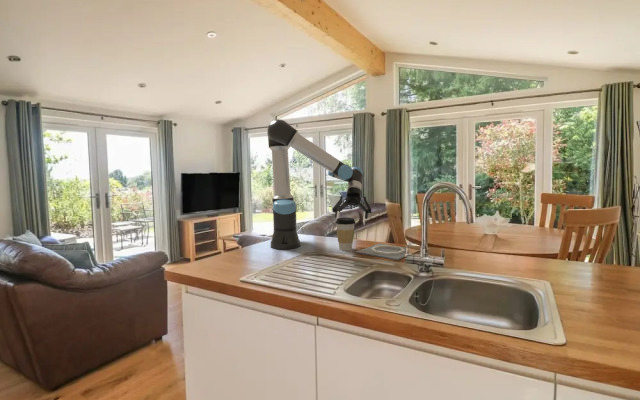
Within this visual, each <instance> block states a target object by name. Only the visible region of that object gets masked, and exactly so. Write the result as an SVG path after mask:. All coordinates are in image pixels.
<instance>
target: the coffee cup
mask: <svg viewBox="0 0 640 400" xmlns="http://www.w3.org/2000/svg"><path fill="white" fill-rule="evenodd" d="M335 224H336V225H335V226H336V236H337V241H338V247H339V249H338V250H339V251H343V252H344V251H352V250H353V243H354V238H355V237H354V235H355V224H356V221H355V218H354V217H339V218H338V219H337V221H336V220H335Z"/></svg>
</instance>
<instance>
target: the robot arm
mask: <svg viewBox="0 0 640 400" xmlns="http://www.w3.org/2000/svg"><path fill="white" fill-rule="evenodd" d="M266 133H267V140H268V149H270V150H271V155H272V156H271V157H272V158H271V160H272V171H273V186H274V187H273V188H274V195H273V196H272V197H271V198H272V199H271V200H272V214H273V215H272V216H273V218H272V219H273V234H272V237H271V240H270V248H273V249H276V250H292V249H297V248H299V247H301V240H300V237H299V235H298V232H297V203H296V201H294V198H295V197H294V195H292V194H291V181H290V166H289V163H290V161H289V151H288V150H289V149H290V148H292V149H294V150H296V151H297V152H298V153H300V154H302V155H304V157H306V158H308V159H310V160H311V161H313V162H314V163H316V164H317V165H319V166H321V168H323V169H325V170H327V175H328V176H330V177H331V178H334V179H338V180H341V181H344V182H347V183H348V184H347V190H346V197H343V196H342V195H341V196H340V197H339V200H338V201H336V204H335V205H334V206H333V207H332V209H331V210H332V213H333V214H335V215H334V217H335V219H336V220H335V222H336V221H337V219H338V218H340V213H341V212H342V211H343V210H344V209H346V208H347V207H348V206H351V207H352V206H354V207H355V206H357V207H358V208H359V209H360V210H362V211H363V217H362V225H363V226H365V225H366V220H368V219H369V218H368V217H369V216H368V215H369V214H372V208H371V206H370V204H369V202H368V201H367V197H366V196H363V197H362V187H363V185H362V184H363V178H364V171H363V169H362V167H359V166H352V167H351V165H349V164H345V163H344V162H342V161H341V160H339V159H338V158H336V157H335V156H333V155H332V154H330V153H328V152H327V150H324V149H323V148H321V147H319V146H318V145H317V144H315V143H314V142H312V141H310V140H309V139H307V138H306V137H304V136H303V135H302V134H301V133H299V131H298V129H296V128H294V127H293V126H292V125H290V124H289V123H288V122H287V121H286V120H284V119H281V118H280V119H274V120H272V121H271V122H270V123H269V124H268V126H267V131H266ZM361 201H362V202H363V203H364V205H365V206H364V205H363V203H361Z"/></svg>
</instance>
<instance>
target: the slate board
mask: <svg viewBox="0 0 640 400" xmlns="http://www.w3.org/2000/svg"><path fill="white" fill-rule="evenodd" d="M406 248H407V246H406V247H404V246H399V245H393V244H392V245H391V244H386V243H377V244H373V245H371V246H369V247H365V248H362V249H359V250H355V253H356V254H360V255H366V256H372V257H376V258H377V257H378V258H383V259H388V260H392V261H400V260H402V259H405V258H404V256H405V254H406Z"/></svg>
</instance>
